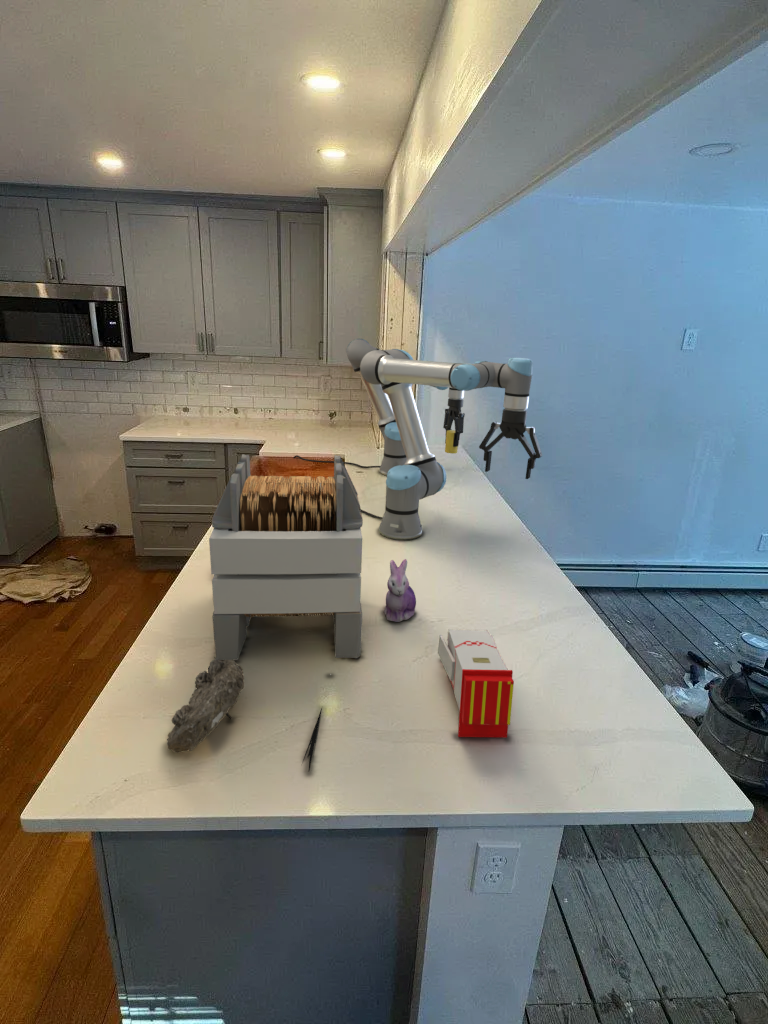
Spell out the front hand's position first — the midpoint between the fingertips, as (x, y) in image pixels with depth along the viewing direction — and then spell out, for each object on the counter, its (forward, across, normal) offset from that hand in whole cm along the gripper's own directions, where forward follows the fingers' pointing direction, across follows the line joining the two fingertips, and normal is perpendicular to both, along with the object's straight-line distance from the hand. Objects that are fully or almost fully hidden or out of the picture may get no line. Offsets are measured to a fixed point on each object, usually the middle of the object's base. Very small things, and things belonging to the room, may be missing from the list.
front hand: (507, 474), depth 185 cm
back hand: (+14, +55, -85) cm, 102 cm away
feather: (+25, +1, +103) cm, 106 cm away
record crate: (+25, +27, +78) cm, 86 cm away
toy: (+25, -21, +79) cm, 86 cm away
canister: (+18, +55, -85) cm, 103 cm away
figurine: (+25, +7, +59) cm, 65 cm away
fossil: (+25, +18, +113) cm, 118 cm away
